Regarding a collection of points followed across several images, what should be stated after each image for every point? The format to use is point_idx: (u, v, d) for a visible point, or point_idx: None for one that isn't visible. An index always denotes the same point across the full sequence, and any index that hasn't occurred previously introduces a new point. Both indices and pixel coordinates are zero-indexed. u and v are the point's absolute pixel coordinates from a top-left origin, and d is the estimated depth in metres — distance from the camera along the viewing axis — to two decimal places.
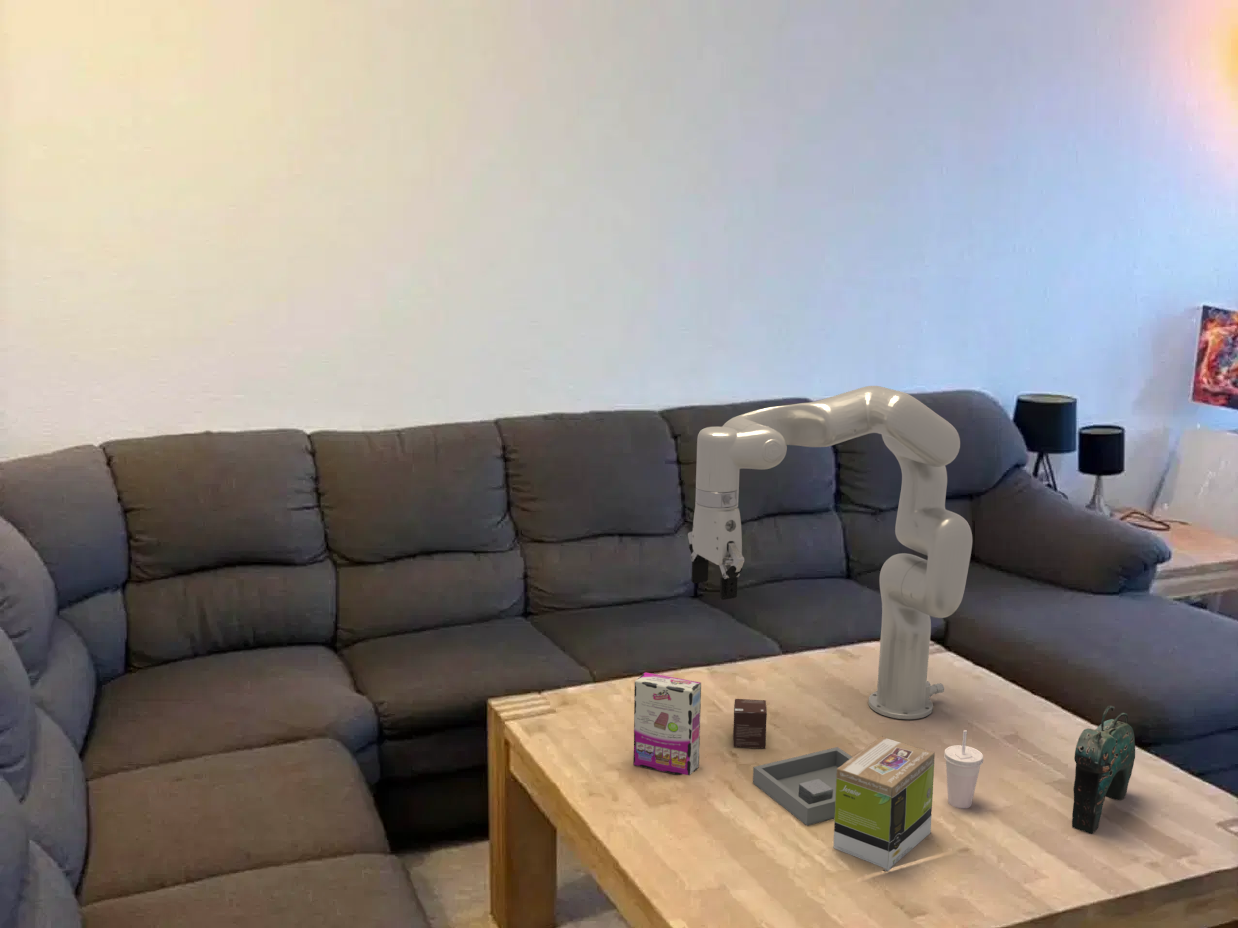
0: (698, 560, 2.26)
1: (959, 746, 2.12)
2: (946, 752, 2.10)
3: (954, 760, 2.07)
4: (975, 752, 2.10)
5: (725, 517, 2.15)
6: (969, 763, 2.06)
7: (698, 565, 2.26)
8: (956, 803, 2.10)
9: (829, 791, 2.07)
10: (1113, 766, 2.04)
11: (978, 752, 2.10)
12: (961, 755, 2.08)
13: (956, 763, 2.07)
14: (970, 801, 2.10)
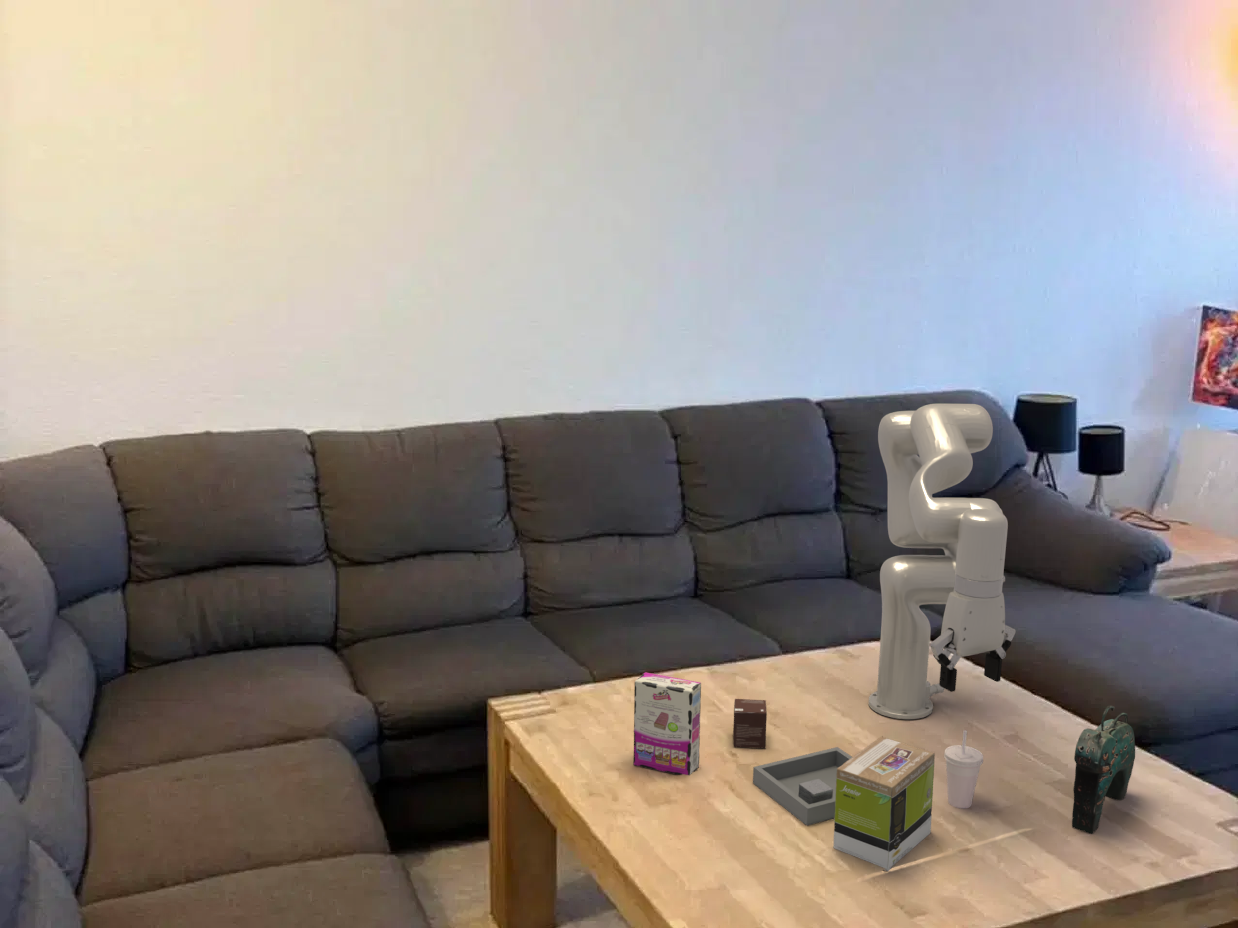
0: None
1: (959, 746, 2.12)
2: (946, 752, 2.10)
3: (954, 760, 2.07)
4: (975, 752, 2.10)
5: None
6: (969, 763, 2.06)
7: None
8: (956, 803, 2.10)
9: (829, 791, 2.07)
10: (1113, 766, 2.04)
11: (978, 752, 2.10)
12: (961, 755, 2.08)
13: (956, 763, 2.07)
14: (970, 801, 2.10)
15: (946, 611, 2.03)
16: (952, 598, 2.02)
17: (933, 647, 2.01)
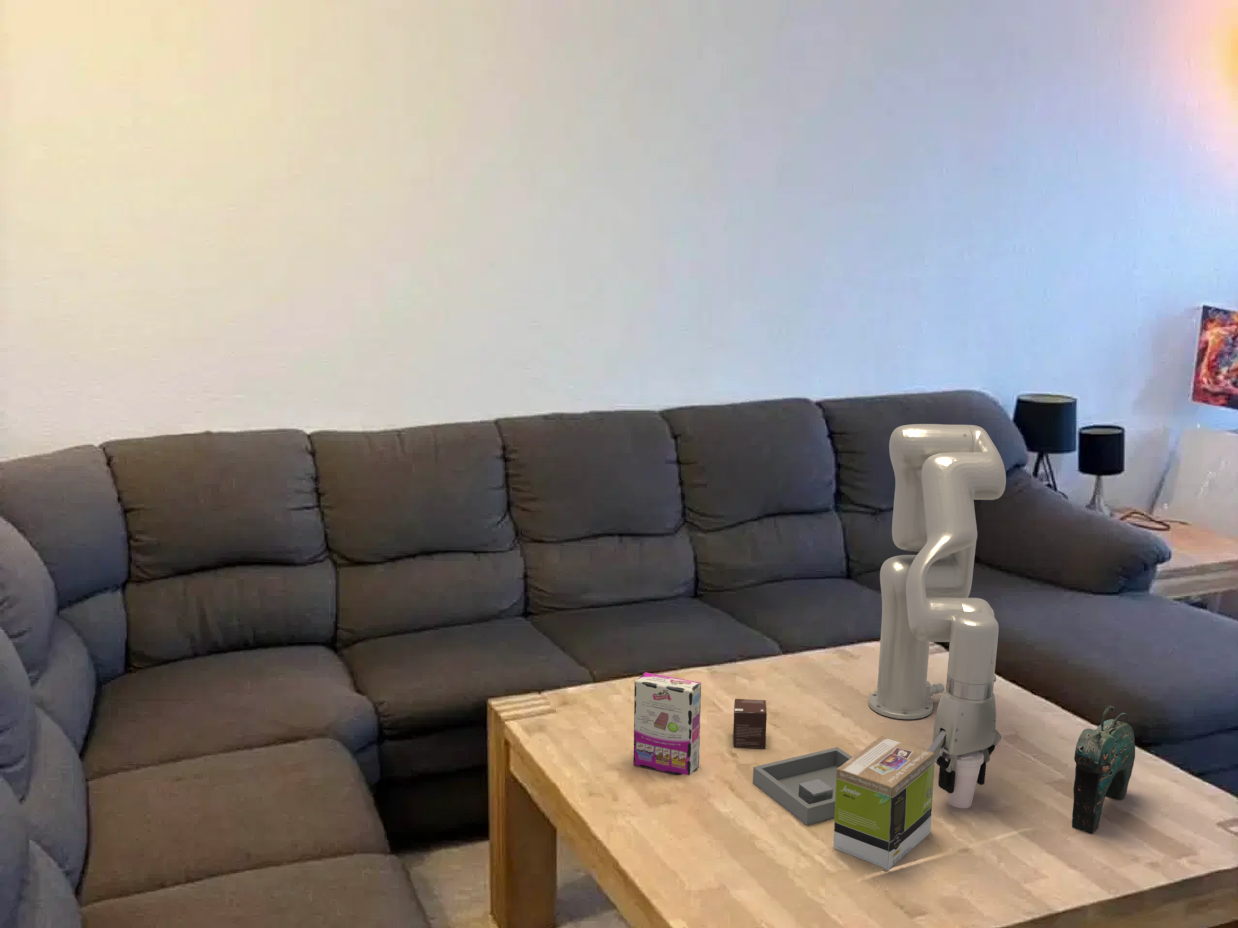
0: None
1: None
2: None
3: None
4: (976, 752, 2.10)
5: None
6: (970, 763, 2.06)
7: None
8: (956, 803, 2.10)
9: (829, 791, 2.07)
10: (1113, 766, 2.04)
11: (979, 752, 2.10)
12: (962, 755, 2.08)
13: (957, 763, 2.07)
14: (970, 801, 2.10)
15: (938, 711, 2.07)
16: (944, 699, 2.06)
17: None
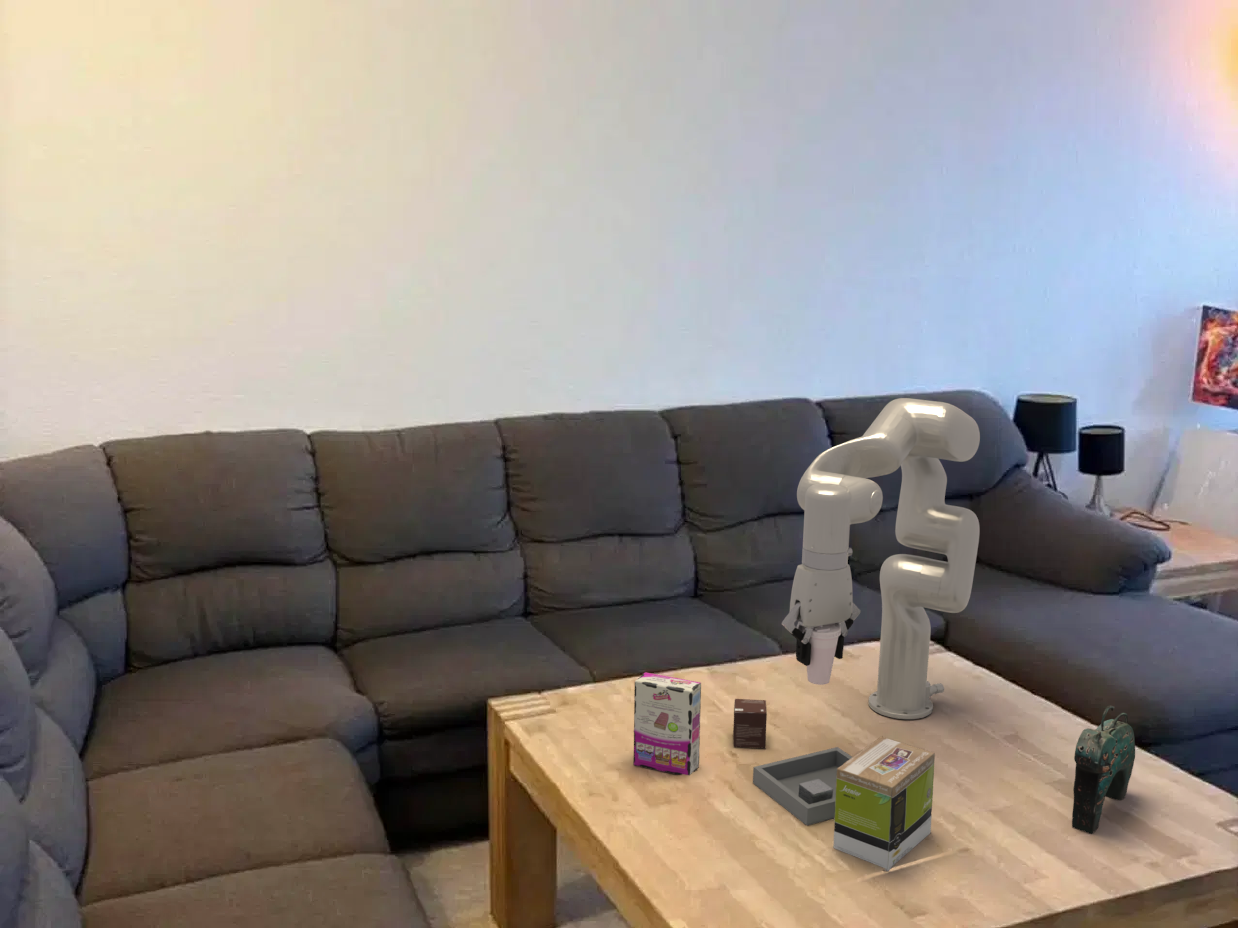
0: None
1: None
2: None
3: None
4: (833, 626, 2.10)
5: None
6: (825, 635, 2.07)
7: None
8: (814, 676, 2.10)
9: (829, 791, 2.07)
10: (1113, 766, 2.04)
11: (836, 626, 2.11)
12: (818, 628, 2.09)
13: (813, 635, 2.08)
14: (828, 675, 2.10)
15: (794, 583, 2.07)
16: (798, 571, 2.06)
17: (784, 626, 2.06)
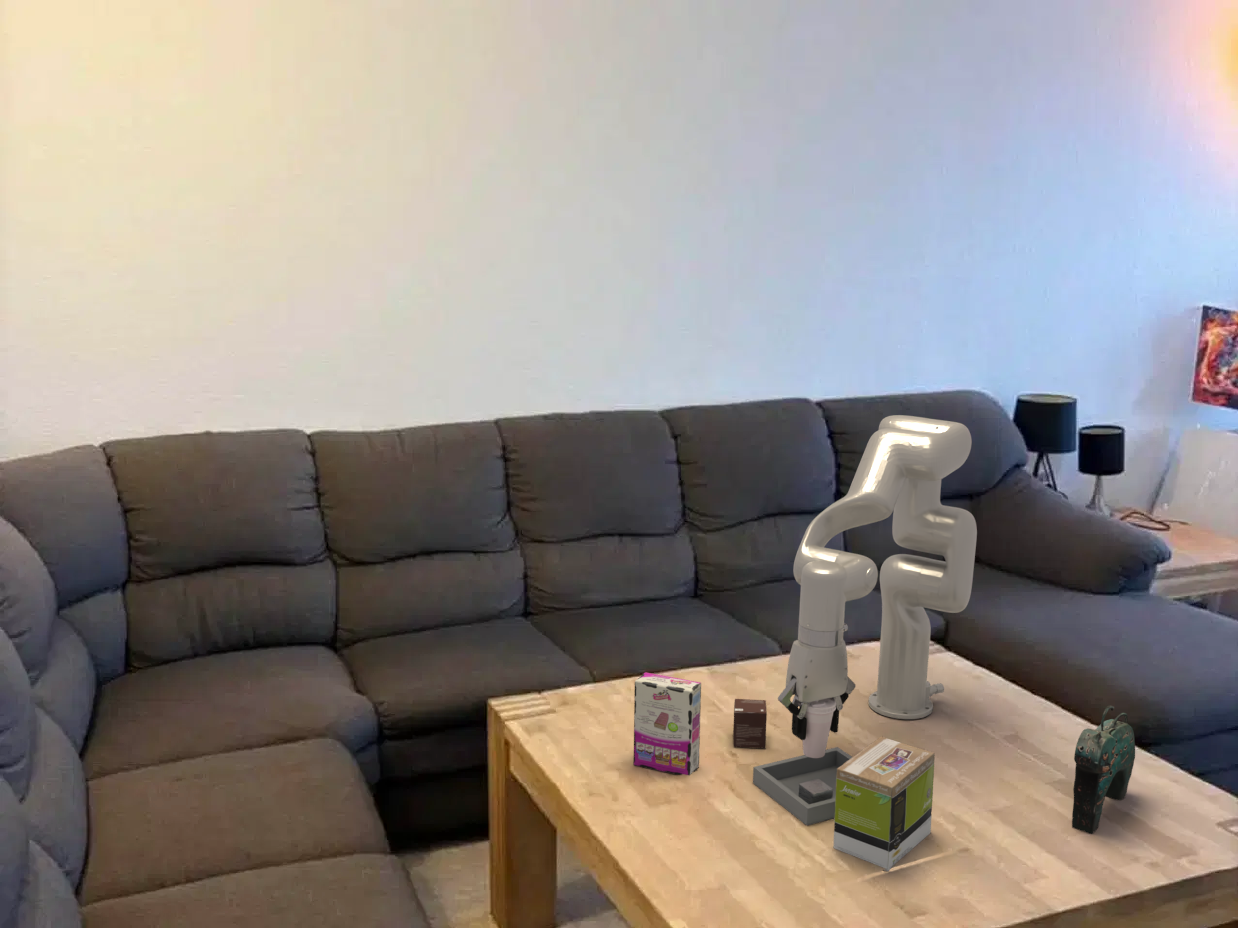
0: None
1: None
2: None
3: None
4: (829, 700, 2.13)
5: None
6: (821, 710, 2.10)
7: None
8: (809, 750, 2.13)
9: (829, 791, 2.07)
10: (1113, 766, 2.04)
11: (832, 700, 2.14)
12: (814, 702, 2.12)
13: (809, 710, 2.11)
14: (823, 748, 2.13)
15: (790, 659, 2.11)
16: (794, 647, 2.09)
17: (780, 701, 2.09)
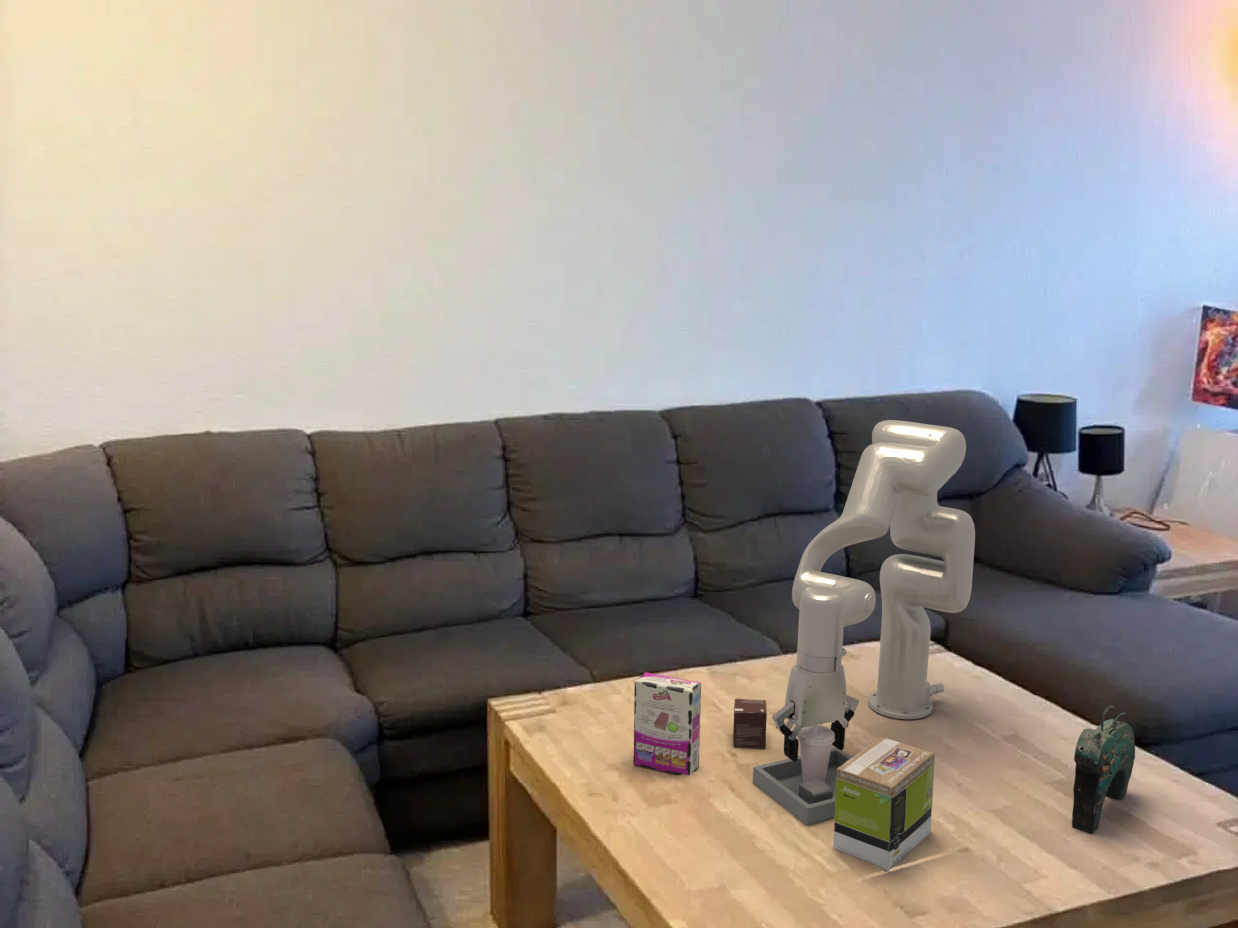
0: None
1: (813, 726, 2.17)
2: None
3: (805, 739, 2.13)
4: (827, 731, 2.15)
5: None
6: (819, 742, 2.12)
7: None
8: None
9: (829, 791, 2.07)
10: (1113, 766, 2.04)
11: (830, 731, 2.15)
12: (813, 734, 2.14)
13: (808, 742, 2.13)
14: (823, 779, 2.15)
15: (789, 684, 2.12)
16: (793, 672, 2.10)
17: (774, 719, 2.10)
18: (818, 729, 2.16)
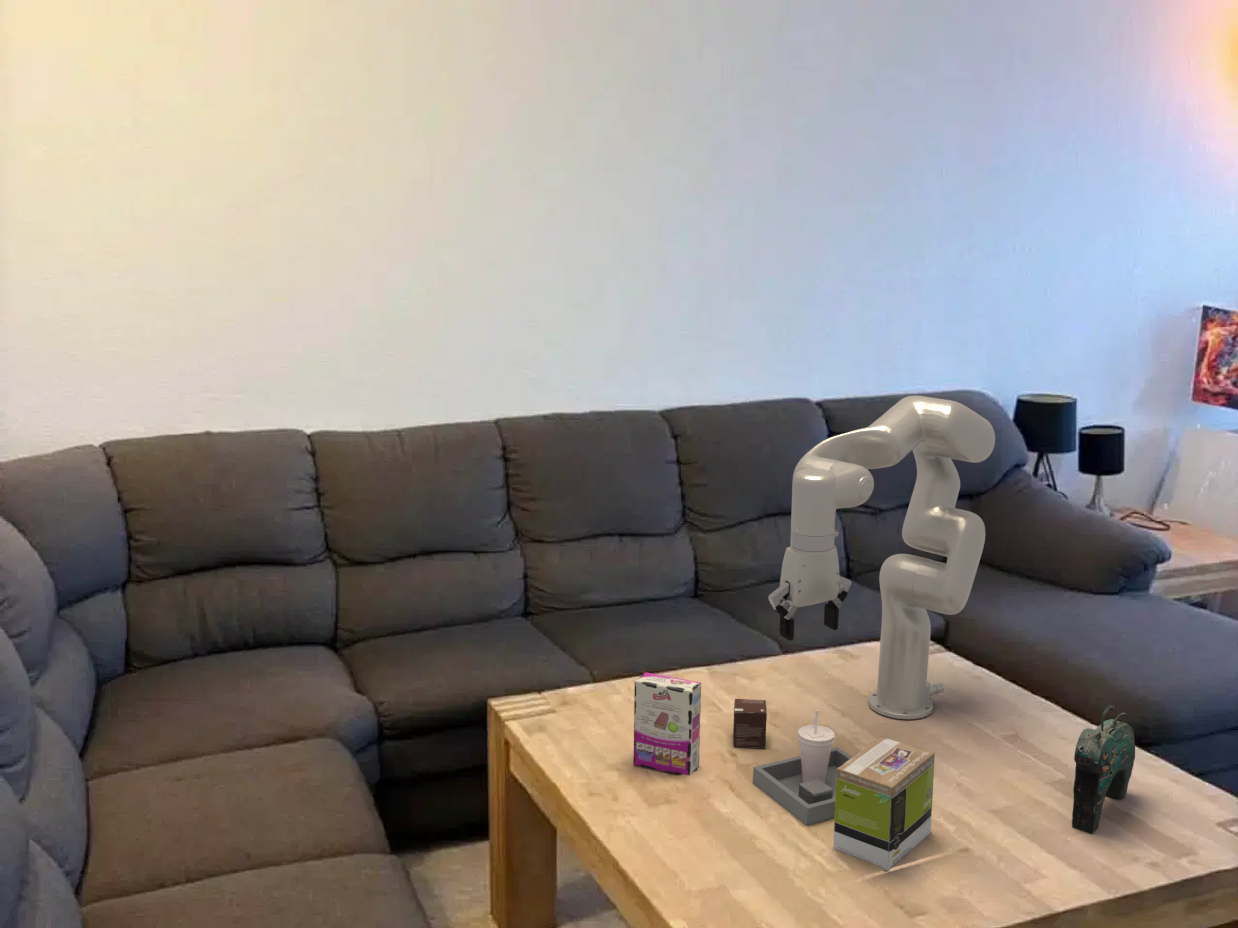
0: None
1: (813, 726, 2.17)
2: (799, 731, 2.15)
3: (805, 739, 2.13)
4: (828, 731, 2.15)
5: None
6: (819, 742, 2.12)
7: None
8: None
9: (829, 791, 2.07)
10: (1113, 766, 2.04)
11: (831, 731, 2.15)
12: (813, 734, 2.14)
13: (808, 742, 2.13)
14: (823, 779, 2.15)
15: (783, 565, 2.16)
16: (787, 553, 2.15)
17: (770, 599, 2.14)
18: (818, 729, 2.16)
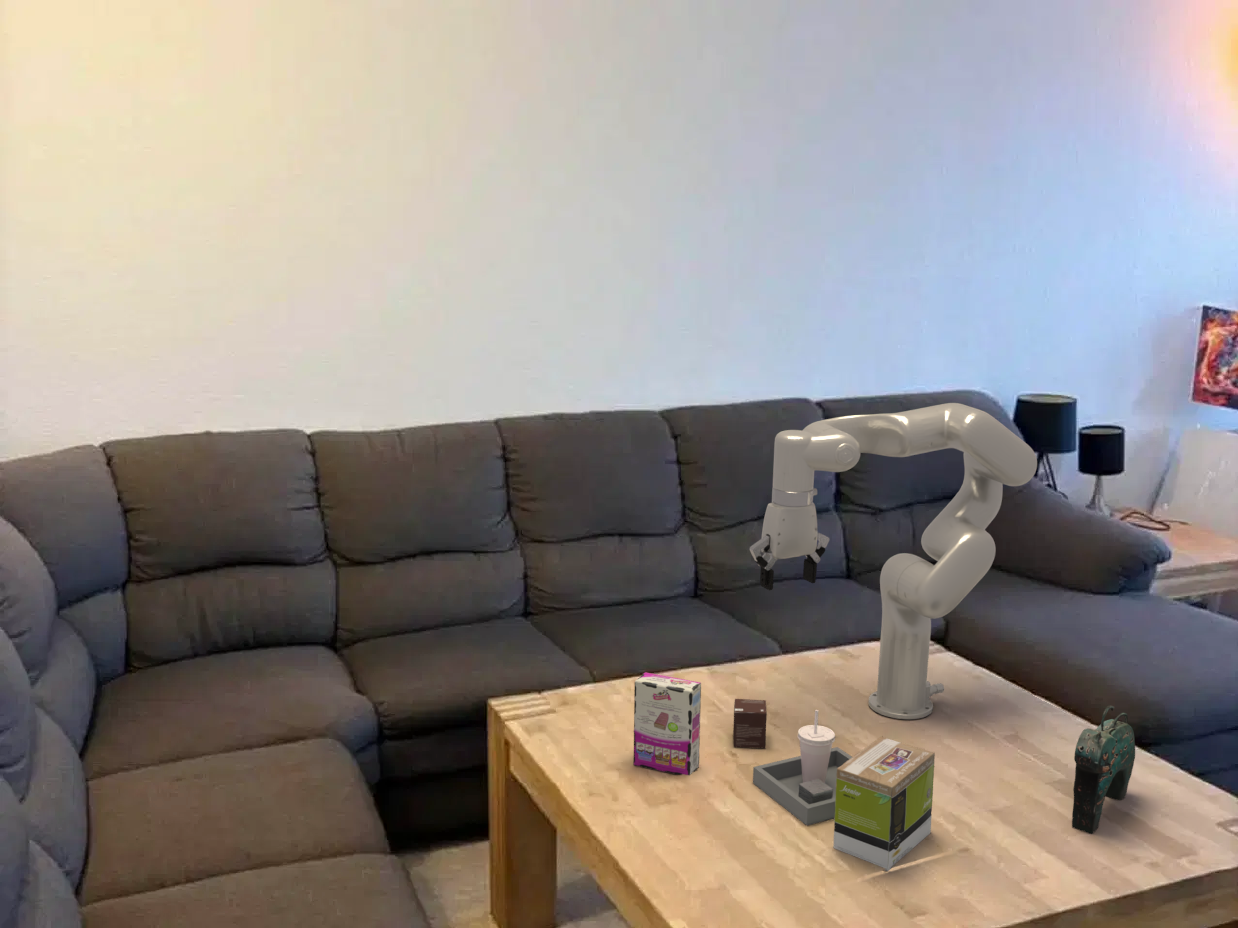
0: None
1: (813, 726, 2.17)
2: (799, 731, 2.15)
3: (805, 739, 2.13)
4: (828, 731, 2.15)
5: None
6: (819, 742, 2.12)
7: None
8: None
9: (829, 791, 2.07)
10: (1113, 766, 2.04)
11: (831, 731, 2.15)
12: (813, 734, 2.14)
13: (808, 742, 2.13)
14: (823, 779, 2.15)
15: (764, 520, 2.32)
16: (768, 508, 2.31)
17: (751, 550, 2.30)
18: (818, 729, 2.16)
